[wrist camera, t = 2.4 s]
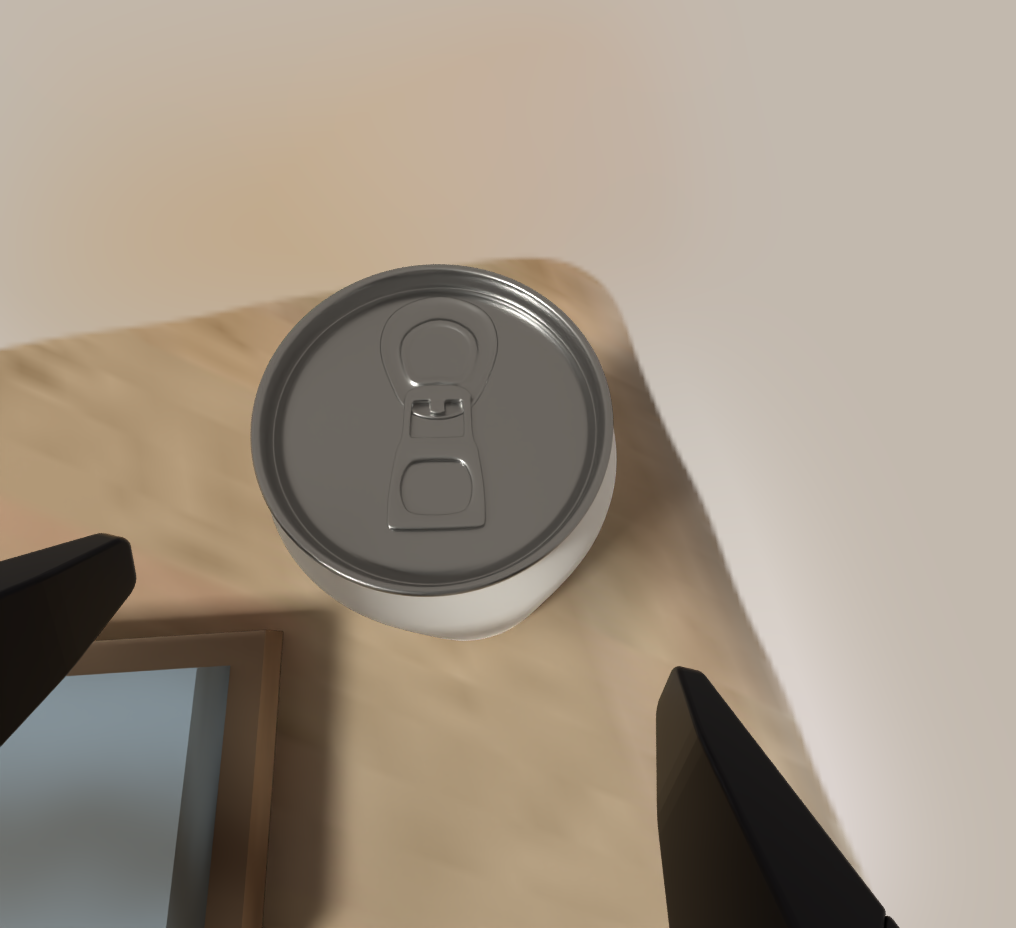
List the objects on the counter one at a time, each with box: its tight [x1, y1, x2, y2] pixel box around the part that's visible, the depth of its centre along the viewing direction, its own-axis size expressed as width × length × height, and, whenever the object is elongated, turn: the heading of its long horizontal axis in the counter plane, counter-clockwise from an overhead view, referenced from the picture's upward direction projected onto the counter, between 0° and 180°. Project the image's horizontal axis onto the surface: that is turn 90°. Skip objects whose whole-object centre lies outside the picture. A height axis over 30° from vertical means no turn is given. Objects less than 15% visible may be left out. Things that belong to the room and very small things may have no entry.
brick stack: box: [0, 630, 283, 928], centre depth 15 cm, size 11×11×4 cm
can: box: [251, 264, 617, 641], centre depth 14 cm, size 6×6×12 cm
